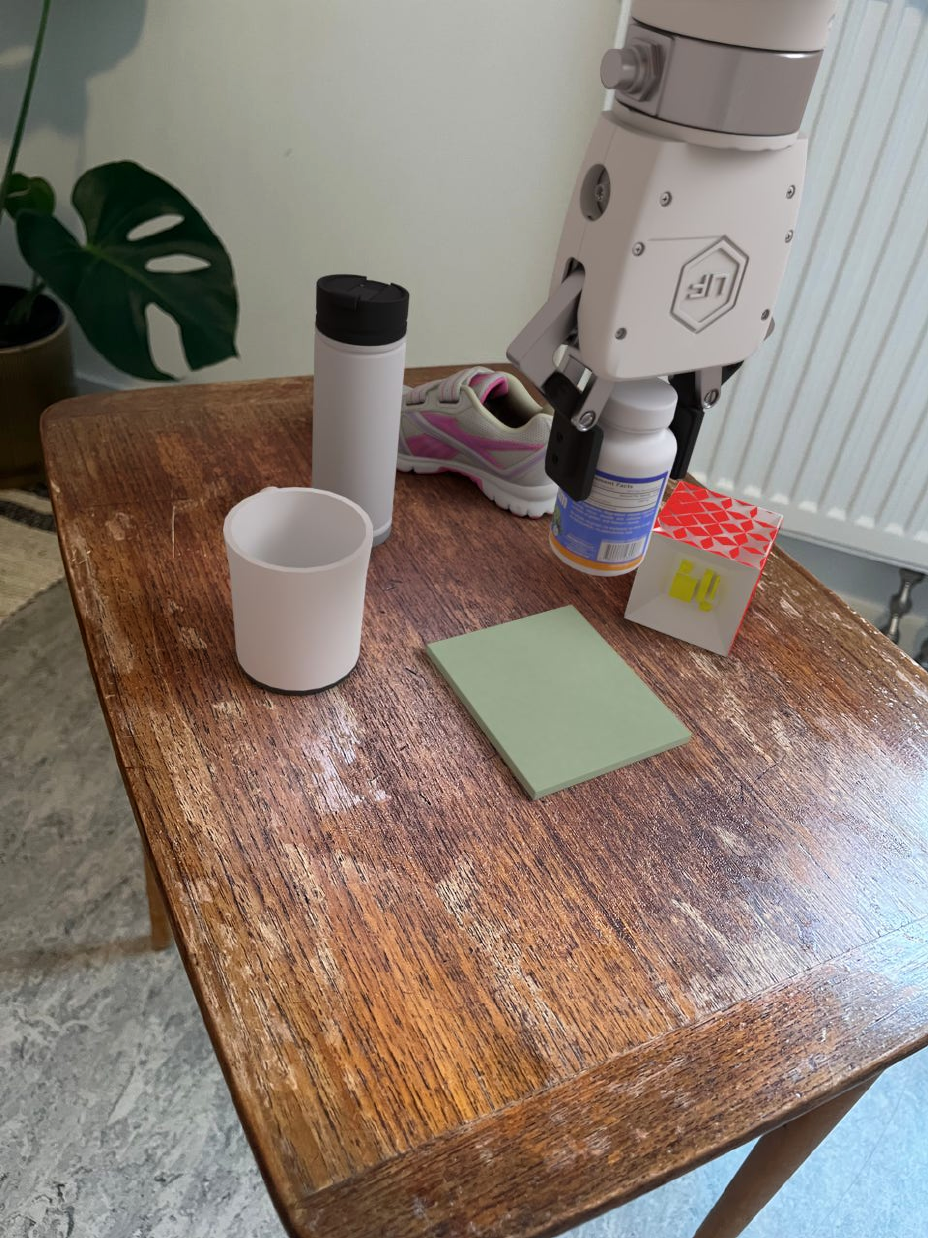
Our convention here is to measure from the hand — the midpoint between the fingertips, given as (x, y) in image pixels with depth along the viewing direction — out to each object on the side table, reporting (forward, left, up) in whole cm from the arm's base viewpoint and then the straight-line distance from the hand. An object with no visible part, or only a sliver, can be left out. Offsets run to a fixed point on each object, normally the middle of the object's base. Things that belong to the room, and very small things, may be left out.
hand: (615, 473), depth 50 cm
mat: (+2, -2, -19) cm, 19 cm away
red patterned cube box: (+6, -17, -19) cm, 26 cm away
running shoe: (+30, -10, -19) cm, 37 cm away
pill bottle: (0, 0, -5) cm, 5 cm away
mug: (+13, +12, -19) cm, 26 cm away
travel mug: (+24, +3, -19) cm, 31 cm away
